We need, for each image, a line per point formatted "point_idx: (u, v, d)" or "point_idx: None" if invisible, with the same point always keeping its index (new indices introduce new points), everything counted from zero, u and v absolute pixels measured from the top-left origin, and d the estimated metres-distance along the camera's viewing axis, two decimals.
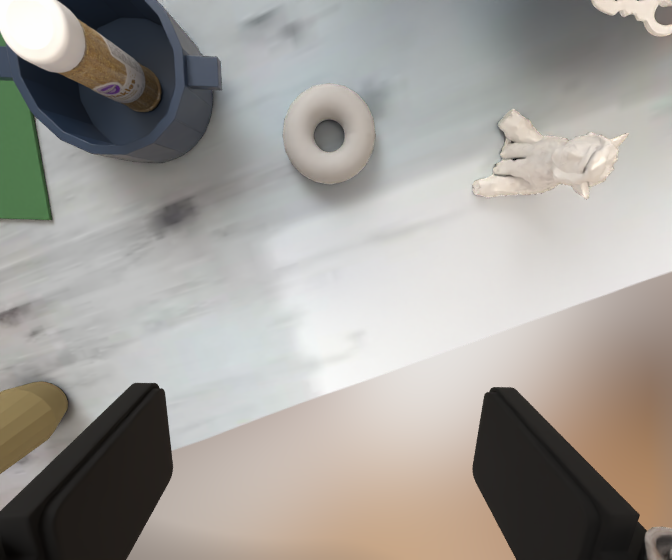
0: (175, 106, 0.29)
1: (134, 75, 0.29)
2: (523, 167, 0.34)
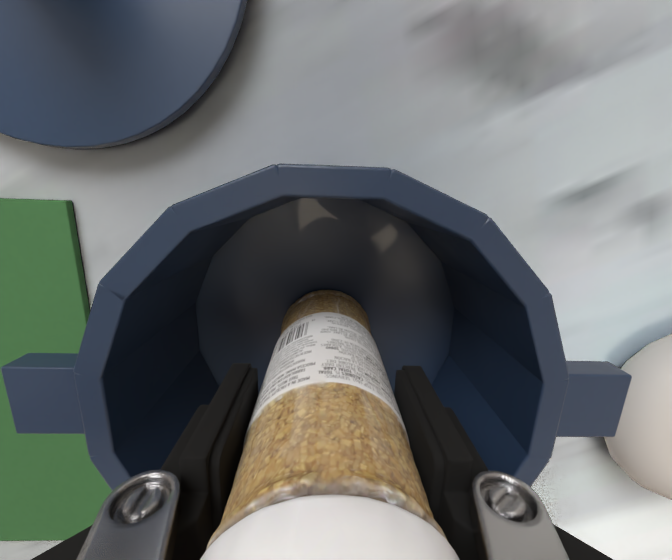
0: None
1: None
2: None
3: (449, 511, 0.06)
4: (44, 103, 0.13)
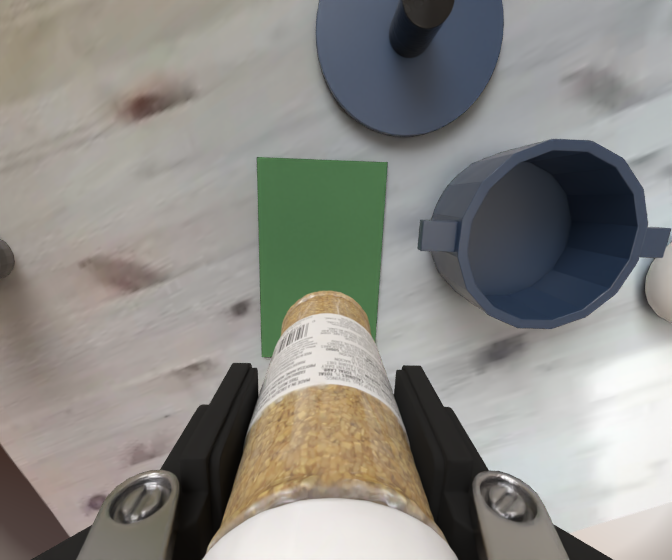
0: (621, 281, 0.26)
1: None
2: None
3: (449, 511, 0.06)
4: (397, 115, 0.28)
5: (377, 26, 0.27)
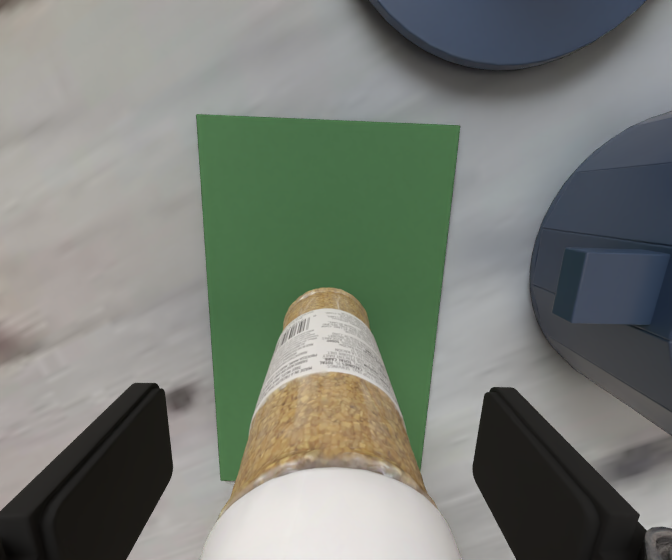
0: None
1: None
2: None
3: None
4: (490, 19, 0.13)
5: None
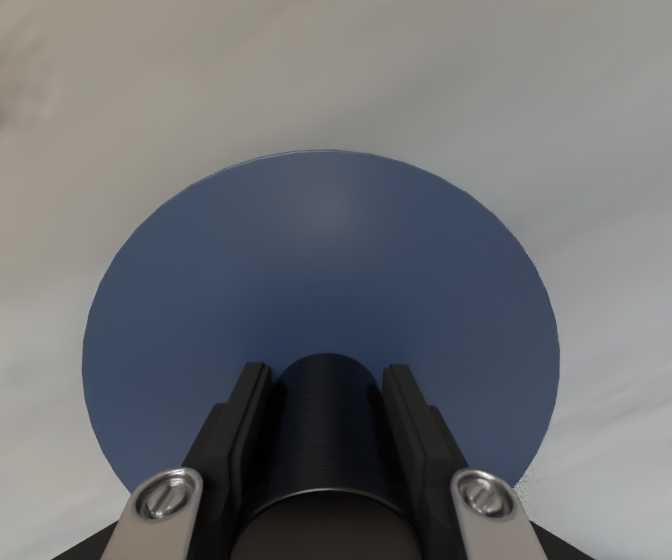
0: None
1: None
2: None
3: (428, 507, 0.06)
4: None
5: None
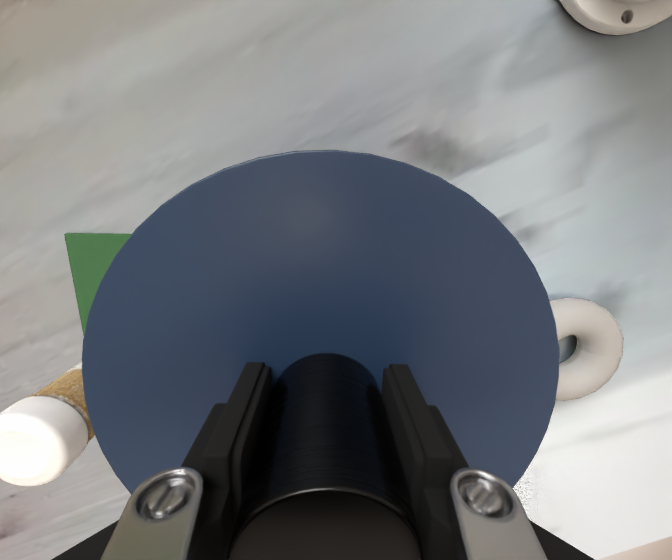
0: None
1: None
2: None
3: (428, 507, 0.06)
4: None
5: None
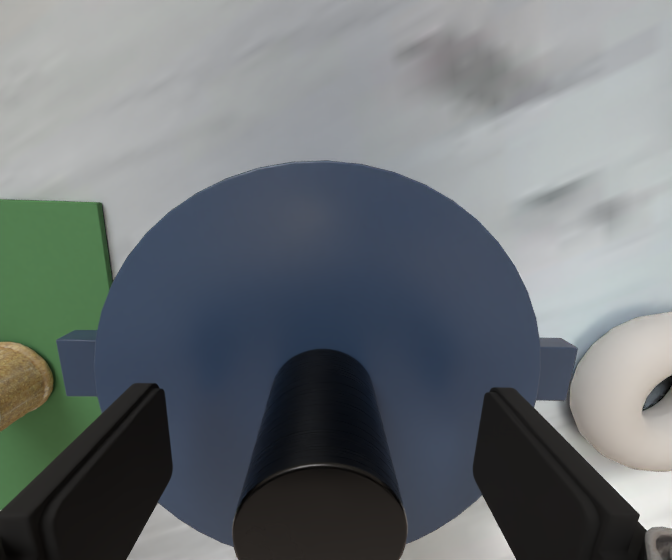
0: None
1: None
2: None
3: None
4: None
5: (243, 383, 0.11)
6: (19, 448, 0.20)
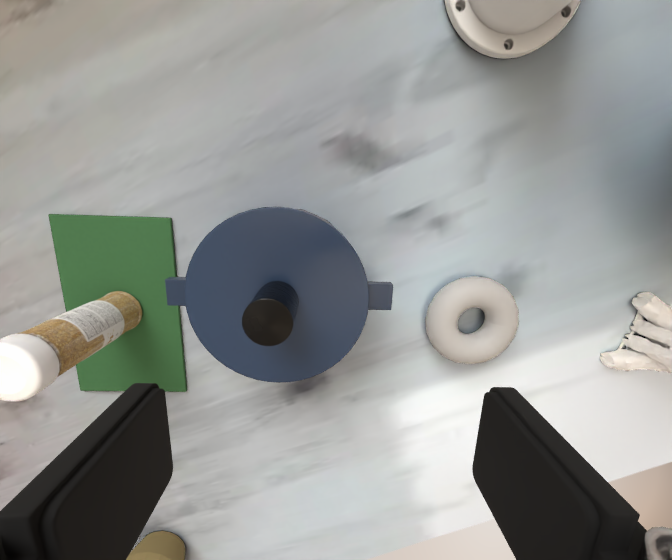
0: None
1: (112, 332, 0.30)
2: (668, 359, 0.34)
3: None
4: (272, 366, 0.29)
5: (244, 296, 0.27)
6: (120, 353, 0.36)
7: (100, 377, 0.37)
